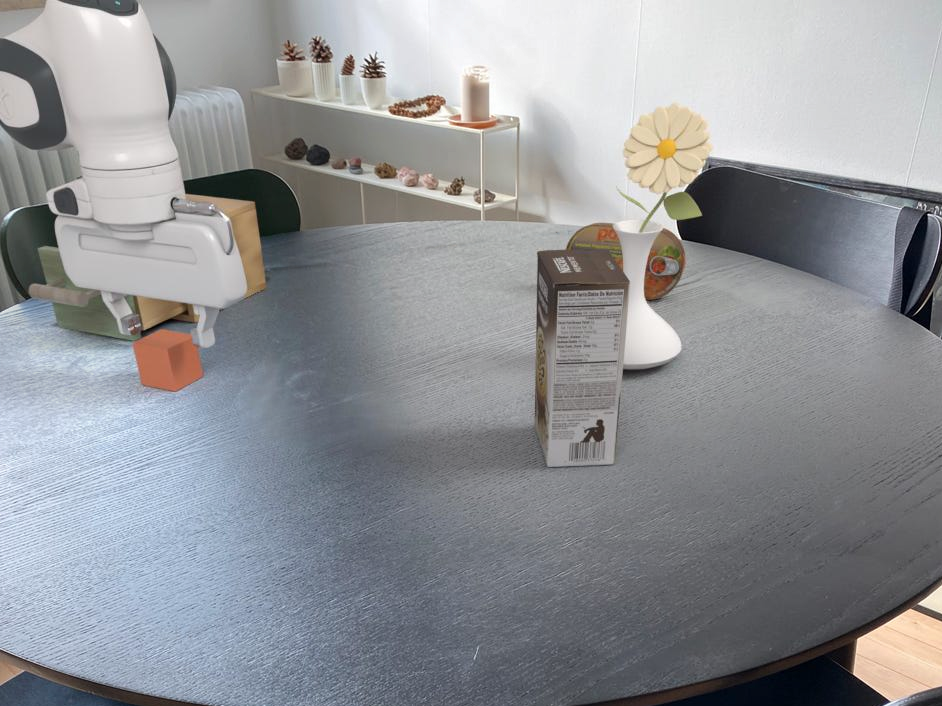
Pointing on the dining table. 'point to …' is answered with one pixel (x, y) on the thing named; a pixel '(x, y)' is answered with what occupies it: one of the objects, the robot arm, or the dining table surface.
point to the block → (167, 360)
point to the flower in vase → (660, 168)
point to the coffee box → (579, 355)
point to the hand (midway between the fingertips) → (167, 339)
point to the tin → (661, 262)
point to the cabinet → (238, 245)
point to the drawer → (93, 302)
